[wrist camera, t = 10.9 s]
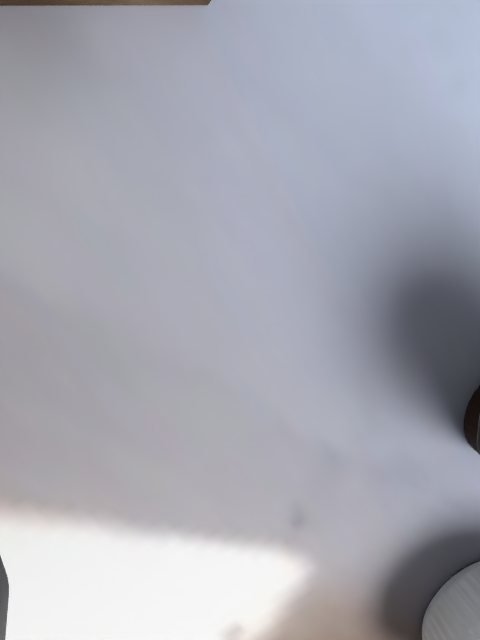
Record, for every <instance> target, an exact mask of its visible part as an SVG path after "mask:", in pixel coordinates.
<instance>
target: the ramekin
mask: <svg viewBox="0 0 480 640" xmlns="http://www.w3.org/2000/svg"><path fill="white" fill-rule="evenodd" d="M422 640H480V561H479V562H476V563H474V564H471V565H469V566H468V567H466V568H464V569H462V570H461V571H459V572H458V573H457V574H455V575H454V576H453V577H451V578H450V579H449V580H448V581H447V582H446V583H445V584H444V585H443V586H442V587H441V588H440V589H439V591H438V592H437V593H436V595H435V596H434V597H433V599H432V600H431V602H430V604H429V606H428V608H427V610H426V612H425V615H424V618H423V624H422Z"/></svg>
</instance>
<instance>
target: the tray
mask: <svg viewBox="0 0 480 640" xmlns="http://www.w3.org/2000/svg"><path fill="white" fill-rule="evenodd" d="M210 1H211V0H0V5H208V4H209V2H210Z"/></svg>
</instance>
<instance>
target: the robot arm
mask: <svg viewBox="0 0 480 640" xmlns="http://www.w3.org/2000/svg"><path fill="white" fill-rule="evenodd" d="M477 447H478V450H479V452H480V416H479V425H478V435H477ZM8 598H9V584H8V577H7V574H6V571H5V568H4V565H3V562H2V559H1V556H0V640H5V635H6V623H7V610H8Z"/></svg>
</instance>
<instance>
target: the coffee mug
mask: <svg viewBox="0 0 480 640" xmlns="http://www.w3.org/2000/svg"><path fill="white" fill-rule="evenodd" d="M479 416H480V386H479V387H478V389H477V390H476V391H475V393H474V394H473V396H472V398H471V400H470V402H469V405H468V407H467V410H466V414H465V419H464V431H465V436H466V438H467V441H468V443H469V444H470V445H471V446H472V447H473V449H474V450H476V451H477V452H478V453H479V454H480V452H479V450H478V447H477V435H478V425H479Z"/></svg>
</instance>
